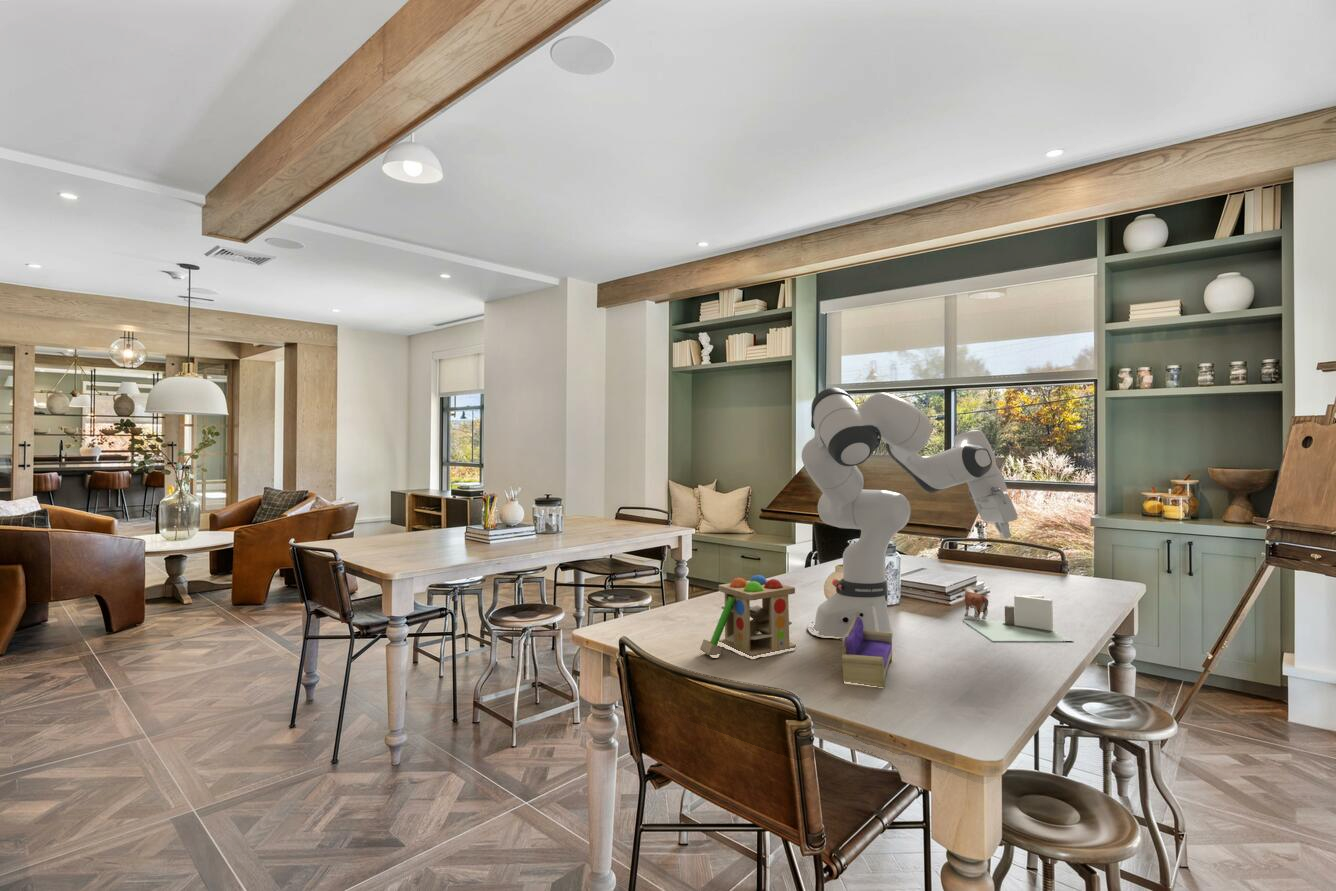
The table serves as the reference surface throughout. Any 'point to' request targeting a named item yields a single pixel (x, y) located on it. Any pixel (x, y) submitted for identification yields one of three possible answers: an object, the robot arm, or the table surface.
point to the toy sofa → (865, 655)
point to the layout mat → (1015, 632)
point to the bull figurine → (975, 602)
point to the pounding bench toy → (767, 622)
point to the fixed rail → (1010, 611)
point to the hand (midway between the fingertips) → (1006, 537)
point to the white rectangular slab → (1033, 612)
